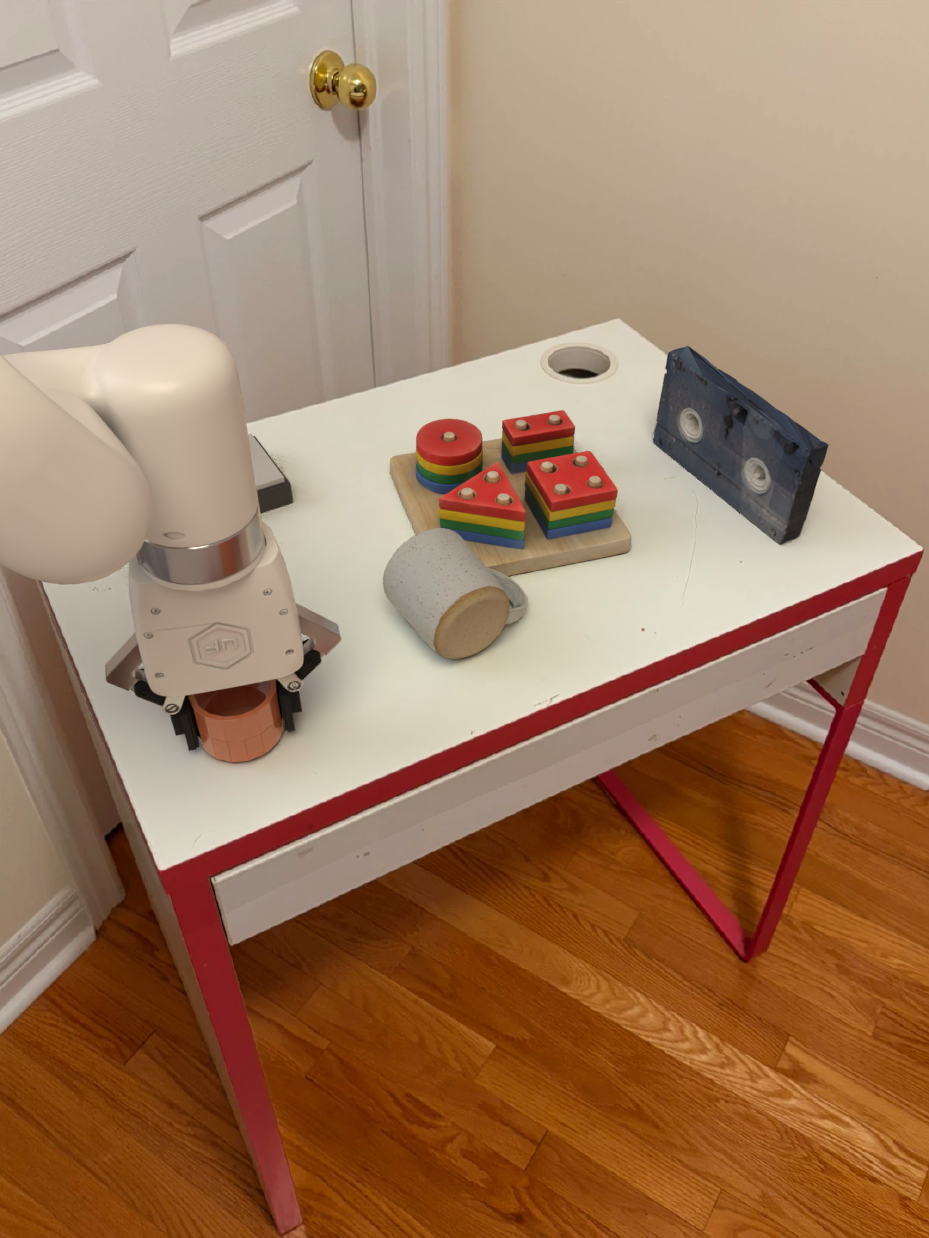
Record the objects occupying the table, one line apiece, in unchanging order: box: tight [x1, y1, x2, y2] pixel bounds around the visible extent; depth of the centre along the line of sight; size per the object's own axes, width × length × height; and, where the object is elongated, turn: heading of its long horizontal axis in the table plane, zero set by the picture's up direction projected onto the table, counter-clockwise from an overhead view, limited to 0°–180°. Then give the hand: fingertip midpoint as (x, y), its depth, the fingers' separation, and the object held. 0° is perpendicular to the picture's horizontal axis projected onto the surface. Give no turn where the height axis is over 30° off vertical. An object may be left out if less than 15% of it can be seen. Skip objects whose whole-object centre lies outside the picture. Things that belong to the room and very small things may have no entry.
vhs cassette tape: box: [652, 345, 830, 545], centre depth 94 cm, size 18×3×10 cm, turn 29°
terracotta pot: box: [188, 679, 284, 763], centre depth 74 cm, size 6×6×5 cm
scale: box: [248, 433, 294, 514], centre depth 95 cm, size 9×9×3 cm
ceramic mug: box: [382, 528, 528, 660], centre depth 82 cm, size 11×8×8 cm
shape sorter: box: [389, 409, 632, 577], centre depth 93 cm, size 18×17×6 cm
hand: (240, 724), depth 75 cm, fingers closed on terracotta pot, 6 cm apart
